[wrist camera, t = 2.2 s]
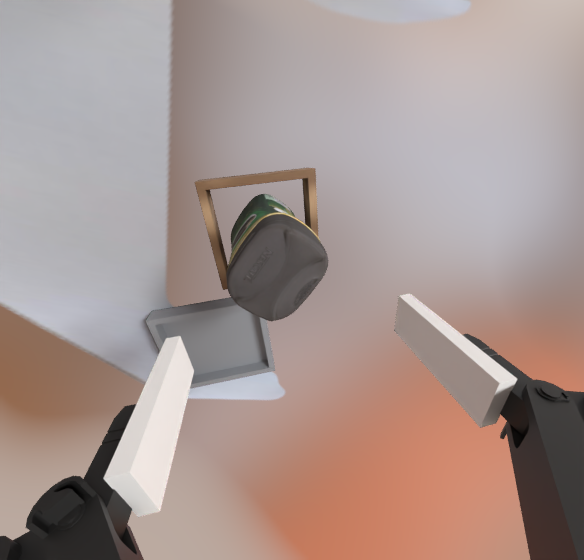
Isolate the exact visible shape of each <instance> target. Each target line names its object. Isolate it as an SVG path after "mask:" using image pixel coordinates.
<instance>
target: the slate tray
mask: <svg viewBox="0 0 584 560" xmlns="http://www.w3.org/2000/svg"><path fill="white" fill-rule="evenodd" d="M146 323H147V325H148V328H149V330H150V332H151V334H152V336H153V338H154V340H155V342H156V345H157V347H158V349H159V351H161V348H162V346H163V344H164V342H165V339H166V338H171V337H176V336H181V339H182V342H183V344H184V347H185V349H186V352H187V354H188V357H189V359H190V362H191V364H192V367H193V369H194V374H193V378H192V382H191V386H190V389H191V388H195V387H200V386H205V385H210V384H214V383H219V382H224V381H228V380H233V379H238V378H242V377H247V376H252V375H257V374H261V373H266V372H271V371H275V366H274V360H273V354H272V348H271V343H270V337H269V331H268V326H267V320H266V319H263V318H261V317H258V316H256V315H254V314H252V313H250V312H248V311H246V310H245V309H243V308H241V307H240V306H238V305H237V304H236V303H235V302H234V300H233V299H232V297H231V298H225V299H219V300H213V301H207V302H202V303H196V304H190V305H184V306H178V307H172V308H167V309H161V310H155V311H151V313H150V315H149V316H148V318H147V320H146Z"/></svg>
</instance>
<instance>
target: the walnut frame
mask: <svg viewBox="0 0 584 560" xmlns="http://www.w3.org/2000/svg"><path fill="white" fill-rule="evenodd" d="M294 179H302V180H303V194H304V209H305V224H306V225H307V226H308V227H309V228H310V229H311V230H312V231H313V232H314V233H315V234H316V235H317V237H318V219H317V196H316V175H315V168H303V169H294V170H284V171H275V172H267V173H258V174H249V175H240V176H231V177H223V178H214V179H205V180H198V181H196V182H195V185H196V189H197V193H198V197H199V201H200V204H201V208H202V212H203V216H204V220H205V223H206V226H207V231H208V235H209V238H210V242H211V246H212V250H213V254H214V258H215V261H216V265H217V269H218V273H219V277H220V280H221V284H222V288H223V290H225V289H228V288H227V279H226V273H227V268H228V265H227V261H226V257H225V252H224V248H223V244H222V240H221V235H220V231H219V227H218V223H217V219H216V215H215V210H214V207H213V202H212V198H211V194H210V189H218V188H227V187H235V186H243V185H252V184H260V183H269V182H277V181H286V180H294Z"/></svg>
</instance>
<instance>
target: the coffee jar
mask: <svg viewBox="0 0 584 560" xmlns="http://www.w3.org/2000/svg"><path fill="white" fill-rule="evenodd" d="M231 244H232V253H231V257H230V261H229V265H228V268H227V273H226V279H227V288H228V291H229V294H230V296H231V297H232V299H233V300H234V302H235V303H236V304H237V305H238V306H240V307H241V308H243V309H245V310H246V311H248V312H250V313H252V314H254V315H256V316H258V317H261V318H263V319H266V320H269V321H274V320H279V319H282V318H285V317H287V316H289V315H290V314H292V313H293V312H294V311H295V310H297V309H298V307H299V306H300V305H301V304H302V303H303V302H304V301H305V300H306V298H307V297H308V296H309V295H310V294H311V292H312V291H313V290H314V289H315V287H316V286H317V285H318V283H319V282H320V281H321V279H322V278H323V276H324V275H325V273H326V270H327V267H328V257H327V253H326V251H325V249H324V247H323V246H322V244H321V242H320V240H319V238H318V237H317V235H316V234H315V233H314V232H313V231H312V230H311V229H310V228H309V227H308V226H307V225H306V224H304V223H303V222H302V221H300V220H299V219H297V218H295V216H294V214H293V212H292V211H291V210H290V209H289V208H288V207H287V206H286V205H285V204H284V203H283V202H281V201H280V200H278V199H277V198H275V197H273V196H271V195H267V194H261V195H258V196H256V197H254V198H253V199H252V200H251V201H250V202H249V203H248V205H247V206H246V207H245V208H244V210H243V211H242V213H241V214H240V216H239V218H238V219H237V221H236V223H235V225H234V227H233V229H232V233H231Z"/></svg>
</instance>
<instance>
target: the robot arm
mask: <svg viewBox="0 0 584 560" xmlns="http://www.w3.org/2000/svg"><path fill="white" fill-rule="evenodd" d="M394 331H395V332H396V333H397V334H398V335H399V336H400V338H401V339H402V340H403V341H404V342H405V343H406V344H407V346H408V347H409V348H410V349H411V350H412V351H413V352H414V354H415V355H416V356H417V357H418V358H419V359H420V360H421V361H422V363H423V364H424V365H425V366H426V367H427V368H428V369H429V370H430V372H431V373H432V374H433V375H434V376H435V377H436V378H437V379H438V381H439V382H440V383H441V384H442V385H443V386H444V387H445V388H446V390H447V391H448V392H449V393H450V394H451V395H452V396H453V397H454V399H455V400H456V401H457V402H458V403H459V404H460V405H461V406H462V408H463V409H464V410H465V411H466V412H467V413H468V414H469V416H470V417H471V418H472V419H473V420H474V421H475V422H476V423H477V425H478V426H479V427H484V426H488V425H492V424H495V423H496V422H497V420H498V418H499V416H500V414H501V415H502V416H503V417H504V418H505V419H506V420H507V422H506V425H505V426H504V428H503V430H502V432H501V436H500V438H502V439H504V437H505V435H506V434H507V436H508V442H509V447H510V452H511V458H512V463H513V468H514V474H515V479H516V485H517V490H518V495H519V500H520V506H521V511H522V517H523V522H524V527H525V533H526V538H527V543H528V549H529V554H530V559H531V560H584V392H573V391H564V390H563V389H561V388H559V387H557V386H556V385H554V384H551V383H548V382H546V381H541V380H532V379H531V378H529V377H528V376H527V375H525V374H524V373H523V372H522V371H520V370H519V369H518V368H516V367H515V366H514V365H512V364H511V363H510V362H508V361H507V360H506V359H504V358H503V357H502V356H500V355H498V354H497V353H496V352H495V351H494V350H492V349H490V348H489V346H487V345H486V344H485V343H483V342H482V341H481V340H479V339H477V338H475V337H473V336H471V335H469V334H464V335H461V334H460V333H459V332H458V331H457V330H455V329H454V328H453V327H452V326H450V325H449V324H447V322H445V321H444V320H443V319H441V318H440V317H439V316H438V315H436V314H435V313H434V312H433V311H431V310H430V309H429V308H428V307H426V306H425V305H424V304H423V303H421V302H420V301H419V300H418V299H416V298H415V297H414V296H413V295H411V294H405V295H401V296H399V298H398V306H397V314H396V321H395V329H394ZM193 374H194V369H193V367H192V364H191V362H190V359H189V357H188V354H187V352H186V349H185V347H184V344H183V342H182V339H181V336H176V337H171V338H166V339H165V342H164V344H163V346H162V348H161V351H160V353H159V355H158V357H157V360H156V362H155V364H154V366H153V369H152V371H151V373H150V375H149V377H148V380H147V382H146V384H145V386H144V389H143V391H142V393H141V395H140V398H139V400H138V402H137V404H134V405H130V406H125V407H124V408H123V409H122V410H121V411H120V413H119V414H118V415H117V416H116V417H115V418H114V420H113V422H112V424H111V426H110V428H109V430H108V434H106V436H105V438H104V440H103V442H102V445H101V446H100V447H99V449H98V451H97V453H96V455H95V457H94V459H93V461H92V463H91V465H90V467H89V469H88V471H87V473H86V475H85V477H84V479H82V478H81V477H80V476H72V477H69V478H66V479H63V480H62V481H60V482H58V483H57V484H55V485H54V486H52V487H51V488H50V489H49V490H48V491H47V492H46V493H45V494H44V495H42V497H41V498H40V499H39V500H38V501H37V503H36V504H35V505H34V506H33V508H32V510H31V512H30V514H29V516H28V518H27V523H26V528H28V529H29V530H30V531H29V532H27V533H25V534H24V535H22V536H20V537H19V538H17V539H15V540H11V539H9V538H8V537H6V536H0V560H144V559H143V557H142V555H141V552H140V550H139V548H138V545H137V543H136V541H135V538H134V536H133V533H132V531H131V529H130V527H129V526H128V525H127V523H128V520H129V517H130V514H131V511H133V512H134V513H135V514H136V515H137V517H141V516H144V515H148V514H152V513H156V512H159V511H160V510H161V506H162V501H163V497H164V493H165V489H166V485H167V481H168V477H169V472H170V468H171V464H172V460H173V456H174V452H175V448H176V444H177V440H178V435H179V431H180V427H181V423H182V419H183V414H184V410H185V407H186V402H187V398H188V394H189V390H190V386H191V382H192V378H193Z"/></svg>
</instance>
